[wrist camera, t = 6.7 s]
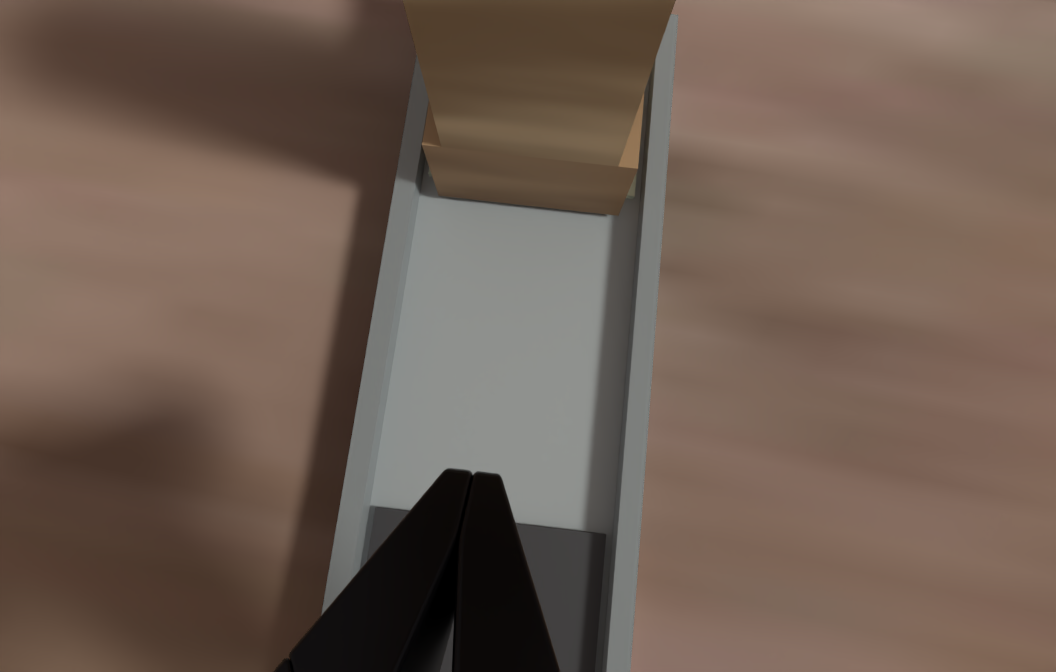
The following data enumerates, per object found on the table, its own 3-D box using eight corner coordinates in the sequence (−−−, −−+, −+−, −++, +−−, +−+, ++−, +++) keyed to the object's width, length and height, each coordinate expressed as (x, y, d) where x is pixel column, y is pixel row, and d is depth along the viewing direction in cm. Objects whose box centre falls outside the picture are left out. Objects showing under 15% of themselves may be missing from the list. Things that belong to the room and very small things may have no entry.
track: (612, 766, 15) (621, 797, 14) (316, 730, 16) (296, 758, 14) (667, 45, 20) (678, 14, 18) (434, 20, 20) (428, -12, 18)
